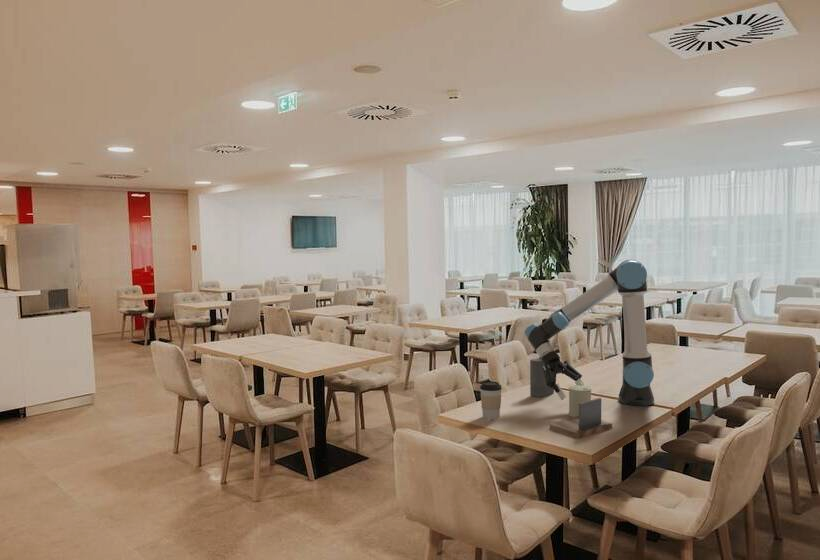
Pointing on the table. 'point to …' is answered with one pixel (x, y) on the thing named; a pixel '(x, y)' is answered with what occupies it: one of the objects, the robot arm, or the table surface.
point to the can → (578, 398)
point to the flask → (538, 380)
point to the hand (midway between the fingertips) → (574, 395)
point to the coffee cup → (490, 399)
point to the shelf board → (576, 427)
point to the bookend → (590, 415)
